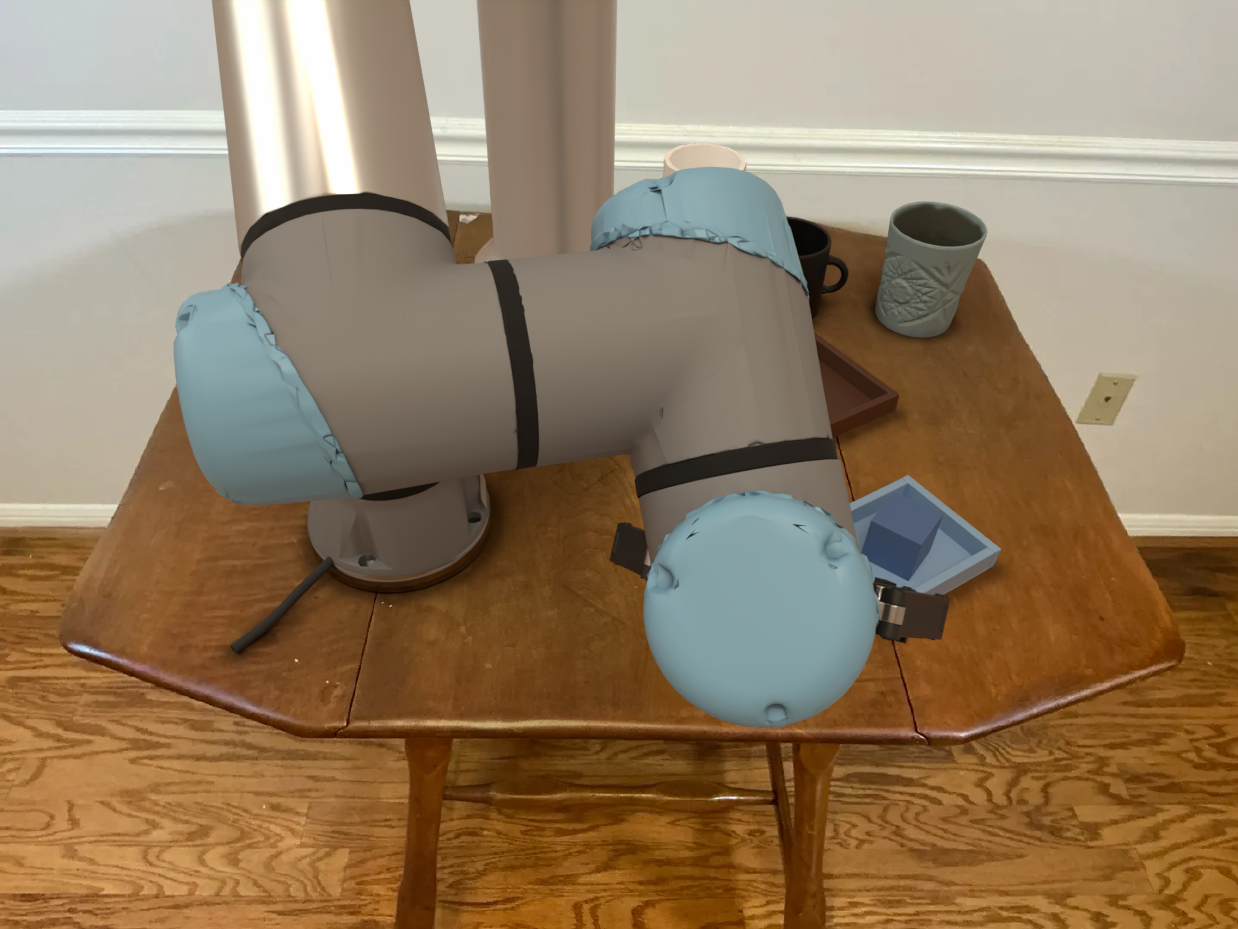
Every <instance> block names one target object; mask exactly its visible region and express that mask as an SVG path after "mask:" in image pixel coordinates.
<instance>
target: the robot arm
mask: <svg viewBox="0 0 1238 929" xmlns="http://www.w3.org/2000/svg"><path fill="white" fill-rule="evenodd" d="M211 4H212V5H211V6H212V7H211V8H212V15H213V16H212V17H213V25H214V34H215V43H216V50H217V51H216V53H217V63H218V72H219V79H220V89H221V98H222V108H223V117H224V118H223V119H224V125H225V126H224V127H225V135H226V145H227V154H228V163H229V164H228V165H229V170H230V171H229V172H230V182H231V191H232V202H233V210H234V218H235V230H236V238H237V246H238V251H239V256H240V260H241V262H240V263H241V279H240V280H241V281H240V283H239V282H235V283H230V282H228V283H226V284H224V285H223V286H222V287H221V288H216V289H211V290H210V289H209V290H204V291H199V292H196V293H194V294H193V293H192V295H191V294H190V296H188V297H187V298H186V299H185V300H184V301H183V302H182V304H181V305H180V306H179V308H178V311H177V314H176V320H175V332H176V335H175V338H174V341H173V362H174V376H175V383H176V388H177V389H176V390H177V395H178V400H179V407H180V411H181V415H182V420H183V424H184V427H185V432H186V434H187V437H188V442H189V444H190V448H191V450H192V453H193V456H194V458H195V461H196V464H197V466H198V468H199V469H200V471H201V473H202V474H203V476H204V478H205V479H206V480H207V482H208V483H209V484H210V486H212V487H213V488H214V490H215V492H216V493H217V494H219V495H220V496H221V497H222V498H224V499H226V500H227V501H229V502H231V503H232V504H233V503H234V504H236V505H241V506H247V507H254V506H255V507H256V506H269V505H283V504H295V503H306V502H310V503H309V507H308V512H307V517H306V530H307V534H308V538H309V541H310V545H311V549H312V552H313V555H314V557H315V559H316V561H317V562H318V564H319V565H317V567H315V569H314V570H312V572H310V573H309V574H308V575H307V576H306V577H305V578H304V579H303V581H301V582H299V584H298V585H297V586H296V587H295V588H294V589H293V590H292V591H291V592H290V593H289V594H288V596H286V598H284V599H283V601H281V603H280V604H278V606H277V607H276V608H275V609H274V610H273V611H272V612H270V613H269V614H268V615H267V616H266V617H265V618H264V619H263V620H262V621H260V623H258V624H257V625H256V626H254V627H253V628H252V629H251V630H249V631H248V632H246V633H245V634H244V635H242V636H241V637H239V638H238V639H236V640H235V641H234V642H233V643H231V644H230V648H231V650H232V651H233V652H234V653H235V654H238V653H240V652H241V651H243V650H244V649H245V648H247V647H248V646H249V645H251V644H252V643H253V642H254V641H256V640H258V639H259V638H260V637H262V635H264V634H265V633H266V632H268V630H270V629H271V628H272V627H273V626H274V625H275V624H277V622H279V621H280V620H281V619H282V618H283V617H284V616H285V615H286V614H287V613H288V612H289V610H291V609H292V607H293V606H294V605H295V604H296V603H297V602H298V601H299V600H300V599H302V597H303V596H304V595H305V594H307V592H308V591H309V590H310V589H311V588H312V587H313V586H314V585H315V584H316V583H317V582H318V581H319V580H320V579H321V578H323V576H324V575H325V574H326V573H327V574H329V575H330V576H331V577H333V578H334V579H336V580H338V581H339V582H341V583H343V584H345V585H347V586H349V587H353V588H356V589H359V590H363V591H369V592H374V593H376V592H377V593H403V592H409V591H415V590H419V589H423V588H427V587H430V586H433V585H435V584H438V583H440V582H443V581H445V580H447V579H449V578H450V577H453V576H454V575H456V574H457V573H459V572H460V571H462V570H464V569H465V568H466V567H467V566H469V565H470V564H471V563H472V562H473V560H475V558H477V556H478V555H479V554H480V552H481V551H482V550H483V548H484V546H485V545H486V543H487V541H488V538H489V536H490V533H491V529H492V510H491V509H492V508H491V500H490V494H489V490H488V488H487V483H486V478H485V476H484V475H487V474H492V473H499V472H504V471H510V470H515V471H518V470H524V469H531V468H539V467H540V468H541V467H546V466H547V467H548V466H554V465H555V466H556V465H560V464H561V465H562V464H567V463H574V462H581V461H588V460H596V459H602V458H609V457H616V456H624V455H627V456H628V459H629V461H630V465H631V468H632V471H633V475H634V487H635V493H636V498H637V499H638V502H639V506H640V508H639V509H640V512H641V518H642V522H643V528H641V527H638V526H634V525H633V524H632V523H631V522H626V521H623V522H617V526H616V529H615V534H614V538H613V542H612V547H611V551H610V556H609V562H611V563H613V565H615V566H616V565H617V566H619V567H621V568H624V569H626V570H628V571H630V572H632V573H635V574H637V575H639V576H640V579H642V580H645V583H646V585H645V587H644V588H645V589H644V594H643V603H642V604H643V606H642V607H643V608H642V610H643V611H642V612H643V624H644V626H643V627H644V632H645V636H646V640H647V643H648V646H649V647H648V648H649V649H650V652H651V654H652V656H653V659H654V661H655V663H656V664H657V667H658V668H659V670H660V672H661V673H662V675H663V676H664V677H665V679H666V680H667V682H668V683H669V684H670V686H671V687H672V688H673V689H674V690H675V691H676V692H677V693H678V694H679V695H680V696H681V697H683V699H684V700H686V701H687V702H688V703H690V704H691V705H693V706H694V707H695V708H697V709H698V710H700V711H702V712H703V713H705V714H706V715H709V716H710V717H713V718H715V719H717V720H720V721H722V722H726V723H729V724H733V725H737V726H740V727H746V728H759V729H766V728H776V729H777V728H778V729H782V728H784V727H787V726H790V725H793V724H794V725H795V724H797V723H800V722H803V721H805V720H809V719H811V718H813V717H814V716H817V715H819V714H820V713H822V712H824V711H825V710H827V709H829V708H830V707H832V705H834V704H835V703H836V702H838V701H839V700H840V699H841V698H842V697H843V696H844V695H845V694H846V693H847V692H848V691H849V690H850V688H851V687H852V686H853V685H854V683H855V682H856V680H857V679H858V677H859V676H860V675H861V673H862V671H863V670H864V668H865V666H866V665H867V662H868V659H869V657H870V655H871V651H872V649H873V645H874V642H875V637H876V635H878V636H879V637H880V638H881V639H883V640H886V641H891V642H892V641H894V642H898V643H902V644H905V645H906V644H907V641H908V639H925V640H930V641H936V640H943V635H944V630H945V625H946V621H947V617H948V612H949V607H950V603H951V598H949V597H948V596H946V595H945V594H944V595H942V594H938V593H936V594H934V595H931V594H926V593H920V592H917V591H916V590H914V589H912V587H908V586H903V587H896V586H897V584H896V583H893V582H891V581H888V580H886V579H881V578H877V577H875V580H874V582H873V574H872V569H871V566H870V563H869V561H868V558H867V556H865V555H864V554H862V553H861V552H860V550H859V548H858V543H857V538H856V533H855V528H854V523H853V518H852V513H851V508H850V503H851V502H850V500H849V494H848V490H847V485H846V484H847V483H846V479H845V474H844V470H843V464H842V460H841V459H839V458H838V452H837V448H836V441H835V440H834V438H832V432H831V427H830V421H829V416H828V410H827V405H826V399H825V394H824V388H823V383H822V377H821V371H820V365H819V359H818V353H817V347H816V341H815V335H814V332H815V330H814V324H813V319H812V317H811V311H810V306H809V300H810V299H809V292H808V289H807V281H806V279H805V277H804V275H803V272H802V268H801V264H800V261H799V257H798V253H797V250H796V246H795V242H794V239H793V235H792V231H791V228H790V226H789V224H788V221H787V218H786V216H787V215H786V213H785V208H784V204H783V202H782V199H781V198H780V197H779V194H778V193H777V191H776V190H775V189H774V187H772V186H771V185H770V183H769V182H768V181H766V180H764V179H763V178H761V177H759V176H757V175H756V174H754V173H752V172H749V171H747V170H746V171H742V170H739V169H734V168H726V167H699V168H689V169H683V170H678V171H676V172H674V173H672V174H671V175H669V176H667V177H664V178H663V177H661V178H645V179H643V180H640V181H637V182H635V183H633V184H630V185H629V186H626V187H625V188H622V189H621V190H618V192H617V193H615V157H616V156H615V154H616V153H615V152H616V148H615V146H616V98H617V96H616V92H617V91H616V90H617V89H616V88H617V39H618V38H617V36H618V35H617V30H618V28H617V27H618V25H617V24H618V0H476V13H477V29H478V40H479V54H480V55H479V56H480V57H479V58H480V70H481V71H480V72H481V84H482V99H483V112H484V113H483V114H484V126H485V139H486V155H487V168H488V169H487V170H488V183H489V199H490V211H491V225H492V237H491V238H490V239H489V240H488V241H487V242H486V243H484V245H483V246H482V247H481V248H480V249H479V250H478V252H477V253H476V254H475V256H474V263H457V259H456V256H455V252H454V247H453V242H452V236H451V230H450V224H449V220H448V214H447V207H446V202H445V201H446V200H445V196H444V195H445V194H444V190H443V183H442V179H441V174H440V168H439V162H438V156H437V150H436V145H435V138H434V133H433V127H432V121H431V116H430V110H429V104H428V98H427V93H426V87H425V86H426V85H425V80H424V75H423V70H422V64H421V57H420V52H419V46H418V41H417V34H416V30H415V29H416V28H415V24H414V17H413V11H412V7H411V1H410V0H211Z"/></svg>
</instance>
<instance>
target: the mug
mask: <svg viewBox="0 0 1238 929" xmlns="http://www.w3.org/2000/svg"><path fill="white" fill-rule="evenodd" d="M786 218H787V221H788V224H789V226H790V228H791V231H792V235H793V239H794V242H795V246H796V250H797V253H798V257H799V261H800V264H801V268H802V272H803V275H804V277H805V279H806V281H807V289H808V292H809V299H810V300H809V306H810V311H811V317H812V320H813V319H814V318H815V317H816V316H817V315H818V312H819V309H820V305H821V304H820V303H821V298H822V295H825V294H833V293H836V292H838V291H840V290H841V289H843V287H844V286H845V285H846V284H847V281H848V278H849V267H848V266H847V264H846V262H845V261H844V260H842V259H841V258H839V257H837V256H833V255H831V254H830V253H831V249H832V243H833V242H832V237H831V234H830V233H829V232H828V230H826V229H825V228H824V227H822V226H821V225H819V224H818V223H816V222H813V221H811V220H809V219H808V220H807V219H805V218H800V217H796V216H787V215H786ZM828 266H835V267H836V268H837V269H838V270H839V271H840V278H839V280H838V281H837V282H836V283H835V284H832V285H827V284H824V283H825V278H826V273H827V268H828Z"/></svg>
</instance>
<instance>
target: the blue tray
mask: <svg viewBox="0 0 1238 929" xmlns="http://www.w3.org/2000/svg"><path fill="white" fill-rule="evenodd" d="M893 492H896V493H898V494H900V495H902V496H904V497H906V498H909V499H911V500H913V501H915V502H917V503H919V504H921V505H923V506H926V507H928V508H930V509H932V510H934V511H936V512H938V513H940V514H943V517H942V520H941V522H940V525H939V528H938V531H937V533H936V536H935V539H934V542H933V544H932V547H931V550H930V552H929V553H928V555H927V556H926V558H925V559H924V560H923V562H922V563H921V565H920V566H919V567H918V569H917V570H916V572H915V573H914V574H913V576H912V577H911V579H910V580H909V581H907V580H905V579H903V578H901V577H899V576H897V575H895V574H893V573H891V572H889V571H887V570H885V569H883V568H881V567H879V566H877V565H875V564H873V563H871V562H869V563H870V566H871V569H872V574H873V582H874V580H875V577H877V578H881V579H886V580H888V581H891V582H893V583H896V584H897V586H896V587H903V586H908V587H912V589H914V590H916V591H917V592H920V593H926V594H931V595H934V594H936V593H938V594H942V595H944V596H945V594H947V593H949V592H951V591H953V590H955V589H956V588H958V587H959V586H962V585H963V584H965V583H967V582H968V581H970V580H972V579H973V578H975V577H977V576H979V575H980V574H982V573H984V572H986V571H987V570H989V569H991V568H993V567H994V566H995V565H996V561H997V560H998V558H999V555H1000V553H1001V550H1002V548H1001V547H999V546H998V545H997V544H995V543H994V542H993V541H992V540H990V539H989V538H988V537H986V536H985V535H984V534H983V533H982V532H981V531H979V530H978V529H977V528H975V527H974V526H973V525H971V524H970V523H969V522H968V521H967V520H965V519H964V518H963V517H962V516H960V515H959V514H958V513H956V512H955V510H953V509H952V508H951V507H949V506H948V505H946V504H945V503H944V501H942V500H940V499H939V498H938V497H937V496H935V495H934V494H933V493H932V492H930V491H929V490H928V489H927V488H926V487H924V486H922V485H921V484H920V483H919V482H918V481H917V480H915V479H914V478H913V477H911V476H910V475H909V474H907V475H905V476H903V477H901V478H899V479H897V480H894V481H892V482H890V483H889V484H886V485H885V486H882V487H881V488H878V489H877V490H875V491H873V492H870V493H868V494H866V495H864V496H862V497H860V498H858V499H856V500H854V501H852V502H849V503H850V508H851V513H852V518H853V523H854V528H855V533H856V538H857V543H858V548H859V550H860V552H861V553H862V549H863V546H864V543H865V539H866V536H867V532H868V529H869V526H870V522H871V520H872V519H873V517H874V516H875V515H876V514H877V512H878V511H879V510H880V509H881V507H882V506H883V505H884V504H885V502H886V501H887V500H888V499H889V497H890V496H891V495H892V494H893Z"/></svg>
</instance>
